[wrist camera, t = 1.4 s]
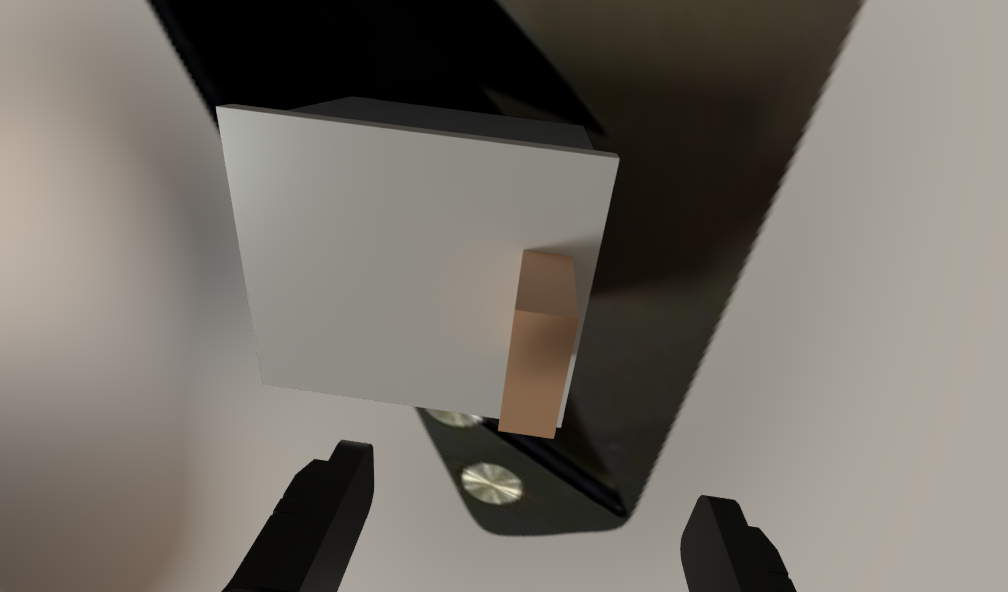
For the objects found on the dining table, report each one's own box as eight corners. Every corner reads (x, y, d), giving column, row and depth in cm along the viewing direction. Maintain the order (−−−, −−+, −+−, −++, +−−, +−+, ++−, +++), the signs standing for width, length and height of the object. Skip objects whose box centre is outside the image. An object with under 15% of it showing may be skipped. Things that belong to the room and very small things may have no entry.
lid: (249, 101, 19) (101, 124, 13) (612, 147, 19) (643, 195, 12) (284, 358, 25) (194, 461, 19) (559, 398, 25) (562, 517, 19)
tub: (351, 96, 28) (246, 119, 18) (583, 125, 28) (600, 164, 18) (359, 275, 34) (281, 365, 24) (551, 302, 33) (552, 404, 24)
